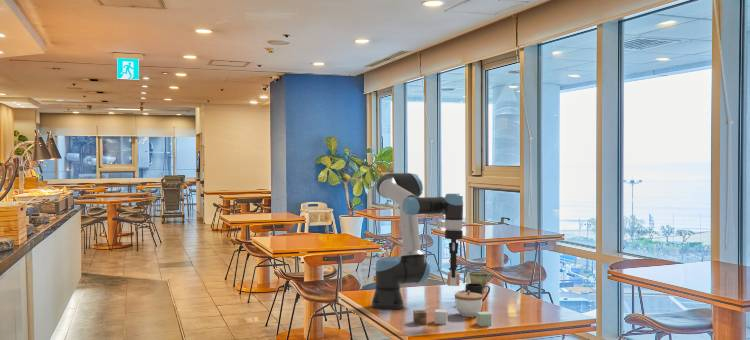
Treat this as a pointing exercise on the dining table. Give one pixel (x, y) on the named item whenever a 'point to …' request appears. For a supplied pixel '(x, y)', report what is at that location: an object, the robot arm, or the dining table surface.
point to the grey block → (441, 316)
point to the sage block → (483, 318)
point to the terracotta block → (456, 279)
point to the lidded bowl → (468, 303)
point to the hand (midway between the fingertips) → (453, 283)
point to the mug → (477, 289)
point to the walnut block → (419, 317)
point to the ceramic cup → (479, 277)
